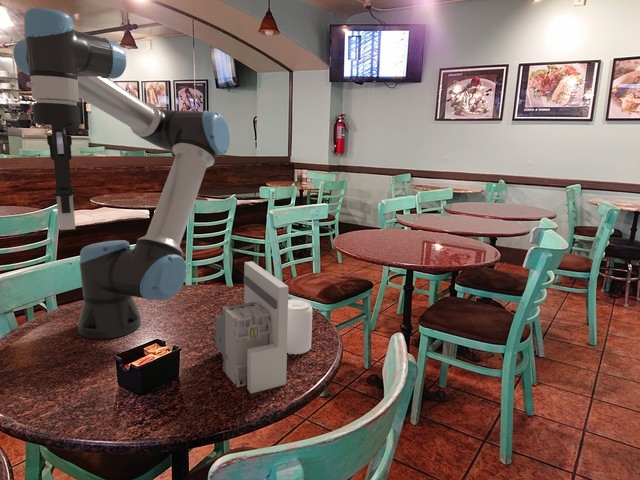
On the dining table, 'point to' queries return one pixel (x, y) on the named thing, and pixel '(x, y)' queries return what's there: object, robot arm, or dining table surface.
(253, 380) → the grey upright angular piece
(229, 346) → the circuit breaker
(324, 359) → the dining table surface
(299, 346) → the beverage can
